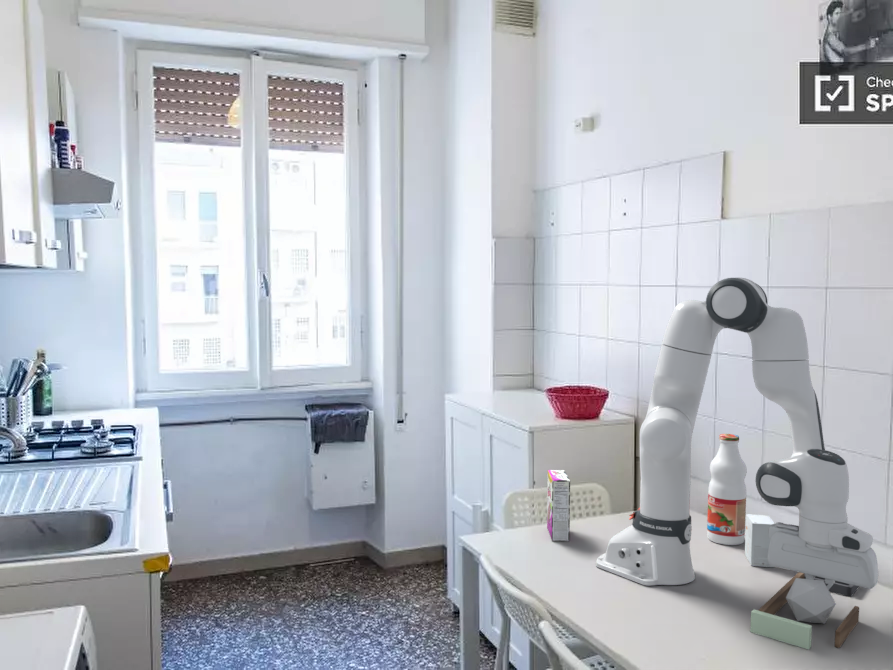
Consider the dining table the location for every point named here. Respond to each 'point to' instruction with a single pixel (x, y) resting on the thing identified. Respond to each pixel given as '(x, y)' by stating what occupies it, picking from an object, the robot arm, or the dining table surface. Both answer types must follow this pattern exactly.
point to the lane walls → (780, 600)
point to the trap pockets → (839, 587)
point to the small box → (757, 539)
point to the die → (810, 600)
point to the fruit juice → (727, 494)
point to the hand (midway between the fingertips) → (819, 597)
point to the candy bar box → (558, 505)
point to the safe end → (781, 629)
